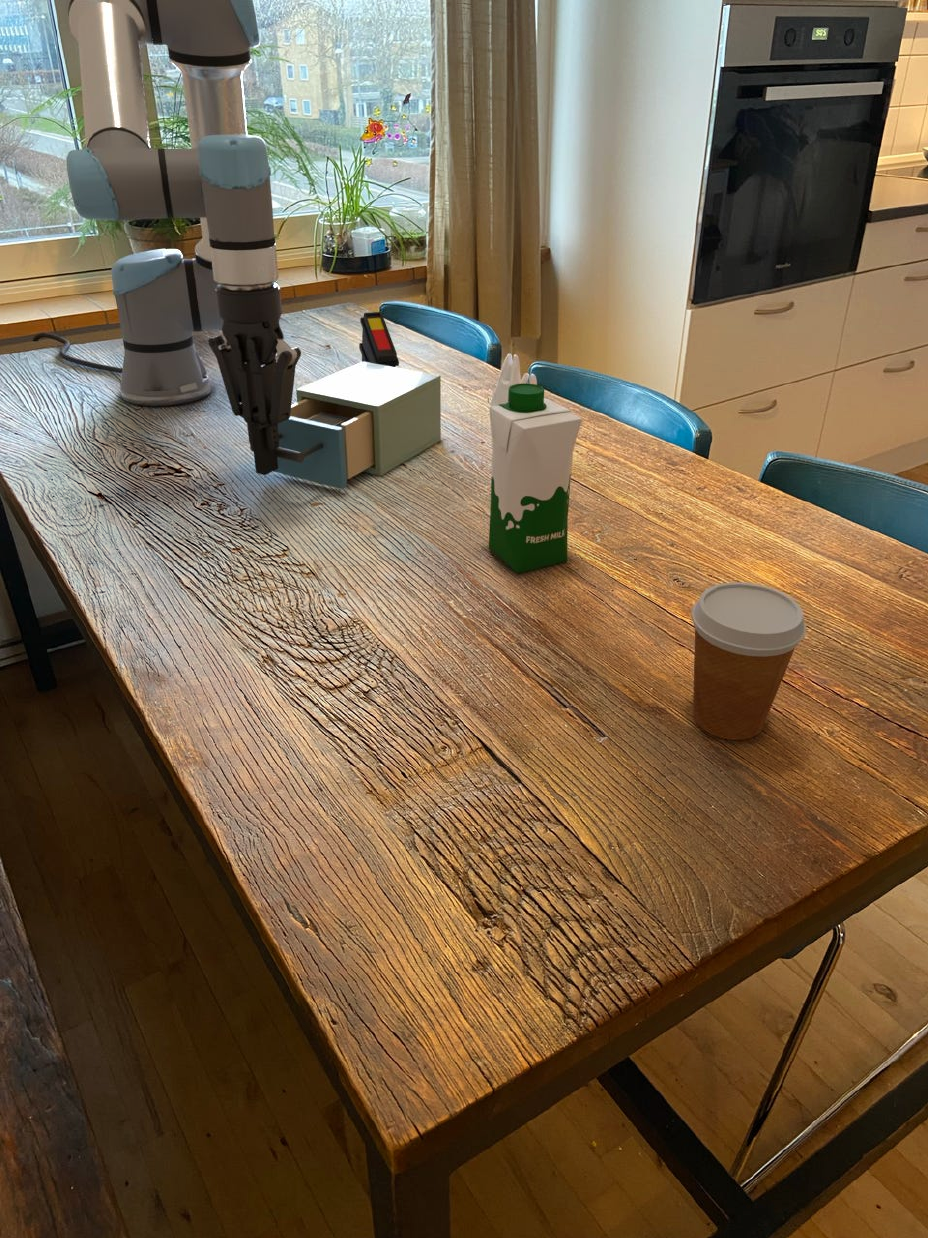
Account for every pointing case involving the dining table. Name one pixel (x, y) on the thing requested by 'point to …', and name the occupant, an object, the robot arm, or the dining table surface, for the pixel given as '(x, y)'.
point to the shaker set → (509, 380)
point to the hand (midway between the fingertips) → (267, 470)
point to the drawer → (325, 443)
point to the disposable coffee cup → (741, 655)
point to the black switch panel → (377, 341)
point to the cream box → (329, 419)
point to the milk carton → (531, 478)
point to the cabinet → (387, 407)
